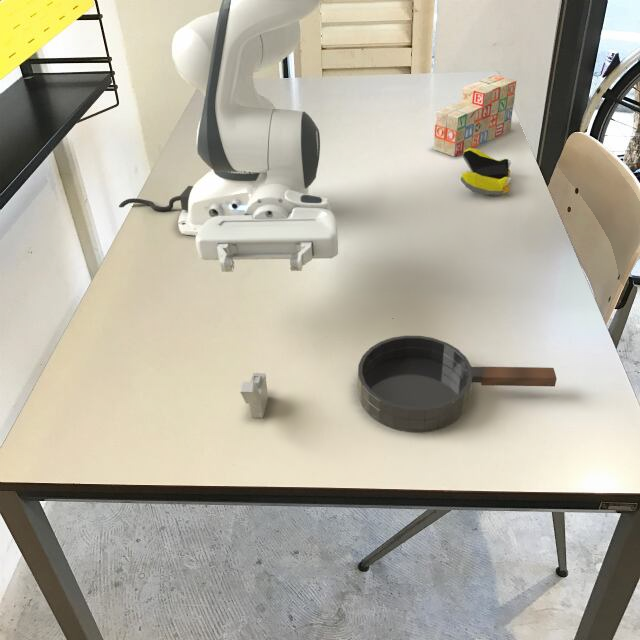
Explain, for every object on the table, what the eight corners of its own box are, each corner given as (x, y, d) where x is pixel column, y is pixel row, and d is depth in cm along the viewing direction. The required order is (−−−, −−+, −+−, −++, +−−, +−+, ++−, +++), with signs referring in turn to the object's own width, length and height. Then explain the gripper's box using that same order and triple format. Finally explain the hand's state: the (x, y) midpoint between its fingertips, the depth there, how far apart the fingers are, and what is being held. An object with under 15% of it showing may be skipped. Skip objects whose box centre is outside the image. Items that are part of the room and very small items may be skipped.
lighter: (256, 396, 96) (250, 351, 92) (268, 396, 96) (263, 352, 91) (246, 433, 91) (239, 387, 86) (259, 434, 91) (253, 388, 86)
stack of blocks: (454, 157, 157) (458, 103, 150) (433, 150, 161) (436, 97, 154) (510, 130, 168) (517, 79, 161) (489, 124, 172) (494, 74, 165)
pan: (356, 431, 90) (356, 408, 88) (359, 356, 103) (359, 334, 100) (475, 433, 89) (478, 411, 87) (464, 357, 101) (466, 336, 99)
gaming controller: (458, 200, 141) (509, 203, 139) (460, 175, 137) (513, 177, 135) (461, 169, 152) (508, 171, 150) (463, 145, 149) (512, 147, 147)
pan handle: (470, 385, 93) (471, 376, 92) (469, 374, 95) (470, 365, 94) (555, 386, 92) (557, 378, 91) (551, 375, 94) (553, 367, 93)
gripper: (202, 201, 104) (181, 247, 93) (339, 197, 102) (334, 245, 91) (209, 238, 107) (189, 287, 96) (341, 235, 106) (336, 285, 94)
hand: (260, 267), depth 93 cm, fingers open, 8 cm apart
